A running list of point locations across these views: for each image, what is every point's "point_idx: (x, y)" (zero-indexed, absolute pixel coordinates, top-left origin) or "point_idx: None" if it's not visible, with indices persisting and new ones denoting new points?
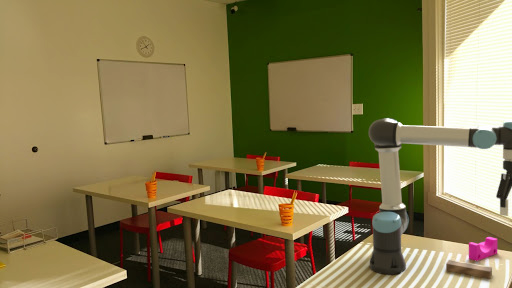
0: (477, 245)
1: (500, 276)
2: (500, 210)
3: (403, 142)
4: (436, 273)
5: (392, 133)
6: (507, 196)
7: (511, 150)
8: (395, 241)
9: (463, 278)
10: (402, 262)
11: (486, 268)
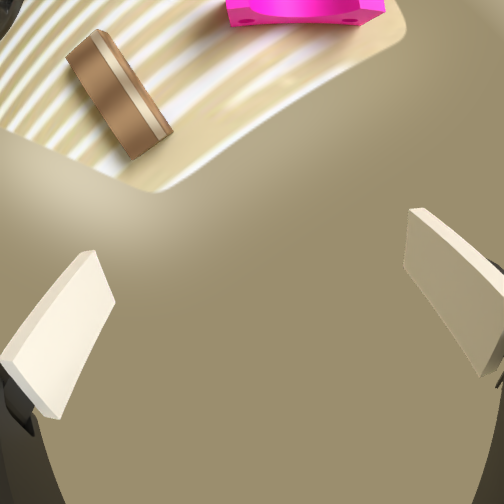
0: (232, 9)
1: (185, 154)
2: (65, 276)
3: None
4: (43, 71)
5: None
6: (39, 443)
7: None
8: None
9: (78, 124)
10: None
11: (142, 135)
